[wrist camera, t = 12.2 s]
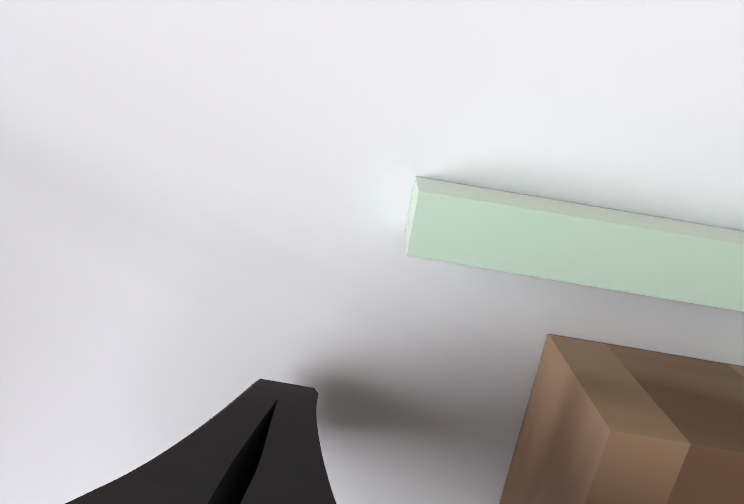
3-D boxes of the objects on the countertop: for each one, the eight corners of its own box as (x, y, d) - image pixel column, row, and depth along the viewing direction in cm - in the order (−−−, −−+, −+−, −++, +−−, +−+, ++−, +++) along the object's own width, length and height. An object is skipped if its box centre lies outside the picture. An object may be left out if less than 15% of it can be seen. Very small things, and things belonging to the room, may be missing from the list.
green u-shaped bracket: (707, 649, 14) (751, 727, 12) (339, 587, 14) (331, 656, 12) (898, 256, 10) (996, 287, 9) (415, 176, 11) (418, 190, 9)
